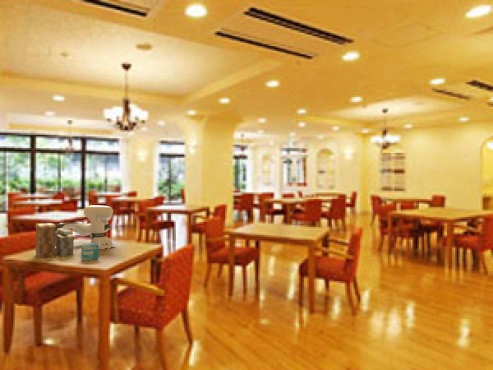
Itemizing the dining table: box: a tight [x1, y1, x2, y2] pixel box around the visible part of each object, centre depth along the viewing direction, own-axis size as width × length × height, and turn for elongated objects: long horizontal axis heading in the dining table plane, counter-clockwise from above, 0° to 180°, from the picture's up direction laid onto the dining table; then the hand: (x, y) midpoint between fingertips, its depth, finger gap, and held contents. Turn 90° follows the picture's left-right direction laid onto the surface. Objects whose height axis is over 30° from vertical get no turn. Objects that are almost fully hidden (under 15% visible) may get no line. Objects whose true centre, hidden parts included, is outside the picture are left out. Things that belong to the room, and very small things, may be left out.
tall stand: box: [35, 222, 57, 259], centre depth 295 cm, size 11×13×26 cm
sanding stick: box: [57, 228, 70, 235], centre depth 308 cm, size 4×22×3 cm, turn 42°
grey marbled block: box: [55, 234, 75, 257], centre depth 305 cm, size 10×13×16 cm
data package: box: [80, 243, 100, 262], centre depth 288 cm, size 12×4×12 cm, turn 128°
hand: (61, 230), depth 311 cm, fingers closed on sanding stick, 4 cm apart
